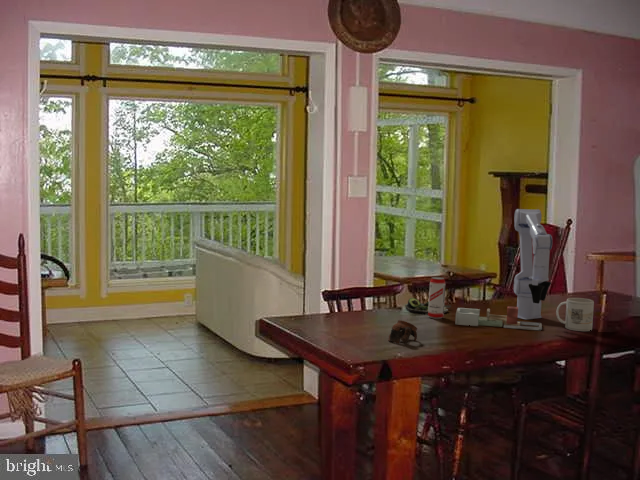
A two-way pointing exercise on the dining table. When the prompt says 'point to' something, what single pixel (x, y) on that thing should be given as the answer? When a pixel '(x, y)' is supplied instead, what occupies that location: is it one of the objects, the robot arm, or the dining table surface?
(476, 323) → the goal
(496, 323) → the track
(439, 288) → the beer can
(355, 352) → the dining table surface
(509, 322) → the carriage
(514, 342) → the dining table surface
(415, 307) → the salad plate
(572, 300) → the mug
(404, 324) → the brown animal figurine
